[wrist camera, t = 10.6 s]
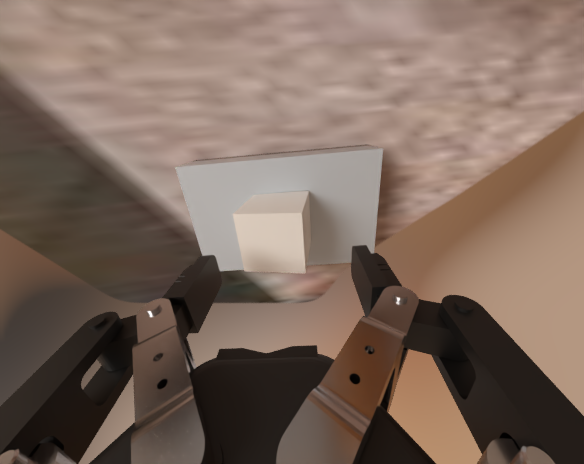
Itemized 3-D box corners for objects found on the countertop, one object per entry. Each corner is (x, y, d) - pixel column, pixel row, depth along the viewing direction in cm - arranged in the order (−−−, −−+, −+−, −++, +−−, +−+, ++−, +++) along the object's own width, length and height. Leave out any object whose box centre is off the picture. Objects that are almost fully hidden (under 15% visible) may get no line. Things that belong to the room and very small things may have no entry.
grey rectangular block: (367, 144, 20) (383, 148, 16) (361, 241, 24) (373, 261, 20) (196, 160, 21) (175, 167, 17) (220, 251, 25) (207, 271, 21)
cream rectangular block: (311, 183, 20) (301, 213, 13) (313, 228, 22) (305, 273, 15) (263, 185, 21) (232, 214, 14) (269, 228, 23) (244, 271, 16)
